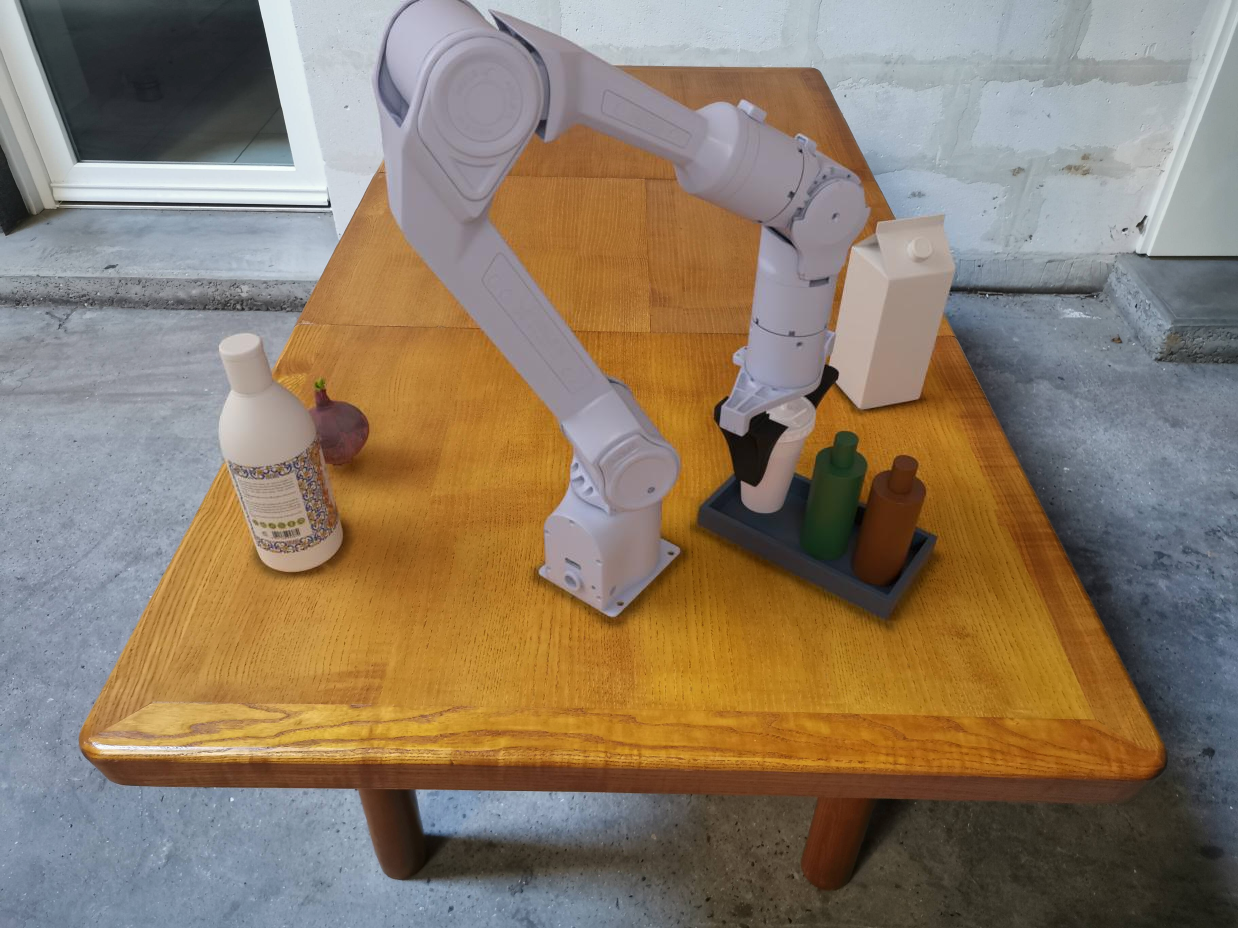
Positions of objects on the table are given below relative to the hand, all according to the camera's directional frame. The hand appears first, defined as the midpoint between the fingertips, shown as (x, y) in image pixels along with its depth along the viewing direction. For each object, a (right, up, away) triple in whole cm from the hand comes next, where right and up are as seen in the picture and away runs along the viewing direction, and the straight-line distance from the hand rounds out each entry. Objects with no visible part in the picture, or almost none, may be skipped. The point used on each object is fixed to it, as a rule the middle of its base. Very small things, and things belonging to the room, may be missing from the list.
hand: (768, 459), depth 74 cm
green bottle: (+5, -7, +1) cm, 9 cm away
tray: (+4, -7, +2) cm, 8 cm away
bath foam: (-39, -7, +1) cm, 40 cm away
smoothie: (0, -4, +3) cm, 5 cm away
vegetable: (-39, -1, +9) cm, 40 cm away
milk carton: (+14, +8, +20) cm, 26 cm away
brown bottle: (+9, -9, -1) cm, 13 cm away
